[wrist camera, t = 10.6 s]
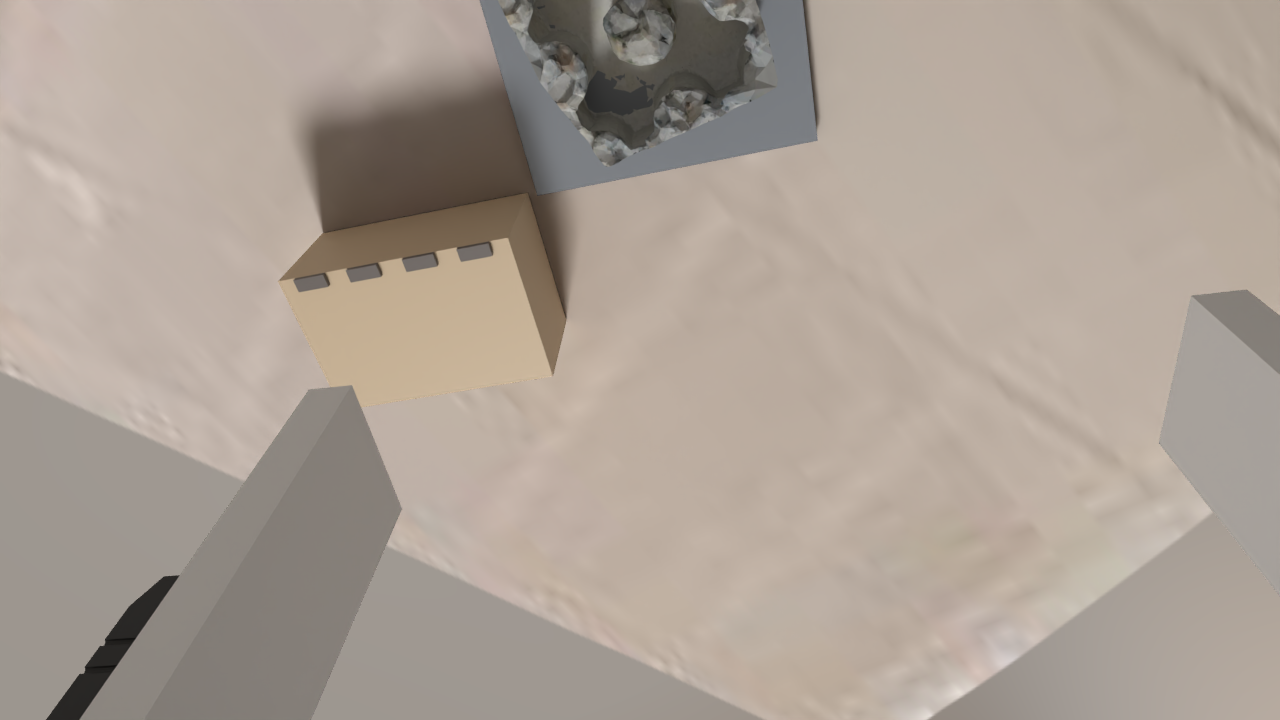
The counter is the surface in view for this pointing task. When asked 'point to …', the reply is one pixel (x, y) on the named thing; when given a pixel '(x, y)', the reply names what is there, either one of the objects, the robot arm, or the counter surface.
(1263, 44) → the counter surface
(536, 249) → the sleeve
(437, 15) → the counter surface
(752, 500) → the counter surface
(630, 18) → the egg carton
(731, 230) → the counter surface
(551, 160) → the mat
